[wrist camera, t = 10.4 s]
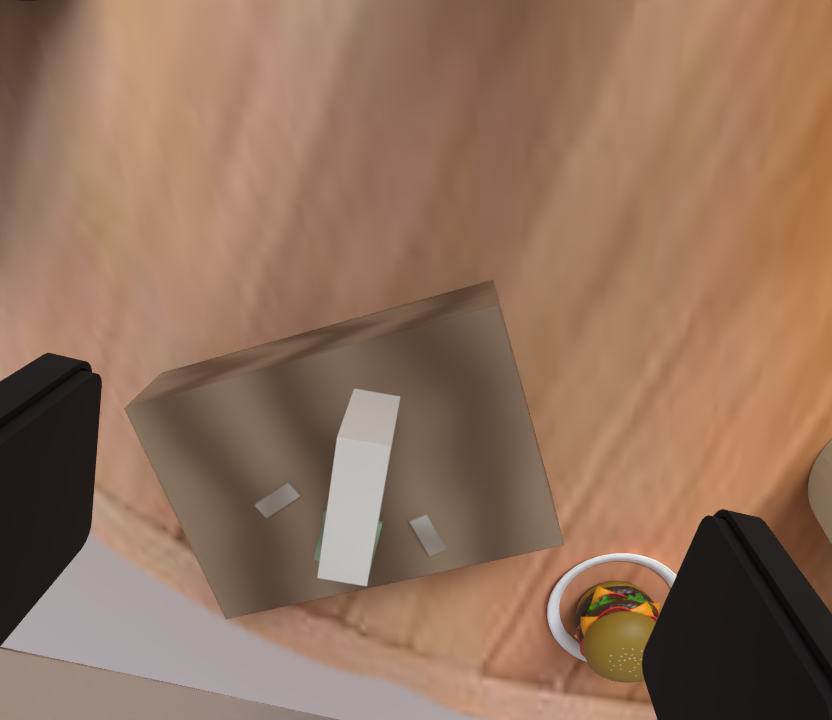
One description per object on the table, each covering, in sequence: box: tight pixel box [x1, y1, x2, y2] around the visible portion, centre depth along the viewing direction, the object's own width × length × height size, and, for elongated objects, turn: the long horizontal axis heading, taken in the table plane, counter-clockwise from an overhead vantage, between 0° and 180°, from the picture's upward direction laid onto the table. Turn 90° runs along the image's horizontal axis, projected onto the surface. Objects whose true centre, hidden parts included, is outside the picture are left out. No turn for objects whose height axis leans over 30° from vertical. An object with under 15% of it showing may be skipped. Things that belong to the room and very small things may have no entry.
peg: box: [317, 389, 400, 586], centre depth 33 cm, size 10×2×7 cm, turn 171°
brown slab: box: [124, 280, 564, 619], centre depth 39 cm, size 20×14×5 cm
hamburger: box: [547, 553, 677, 682], centre depth 43 cm, size 12×12×6 cm
